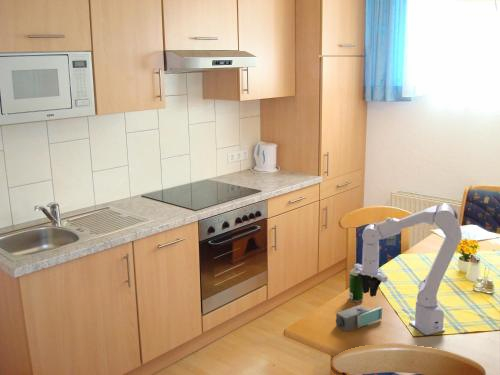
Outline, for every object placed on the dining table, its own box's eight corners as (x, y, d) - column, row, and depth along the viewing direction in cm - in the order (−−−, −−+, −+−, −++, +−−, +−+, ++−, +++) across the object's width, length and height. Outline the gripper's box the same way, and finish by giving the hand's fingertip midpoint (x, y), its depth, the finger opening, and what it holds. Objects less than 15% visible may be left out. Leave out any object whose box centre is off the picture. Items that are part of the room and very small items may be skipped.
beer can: (355, 303, 208) (356, 274, 205) (346, 298, 212) (346, 270, 210) (366, 299, 211) (366, 271, 208) (356, 295, 215) (356, 266, 212)
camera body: (343, 332, 187) (343, 317, 185) (334, 326, 191) (334, 312, 190) (369, 322, 193) (369, 308, 192) (359, 317, 197) (359, 303, 196)
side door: (358, 328, 188) (359, 316, 187) (356, 326, 189) (356, 315, 188) (382, 319, 194) (383, 308, 193) (380, 317, 195) (380, 306, 194)
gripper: (348, 255, 195) (347, 289, 198) (377, 267, 183) (376, 304, 186) (362, 250, 199) (361, 285, 202) (392, 263, 187) (390, 299, 190)
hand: (369, 294), depth 194 cm, fingers open, 3 cm apart
